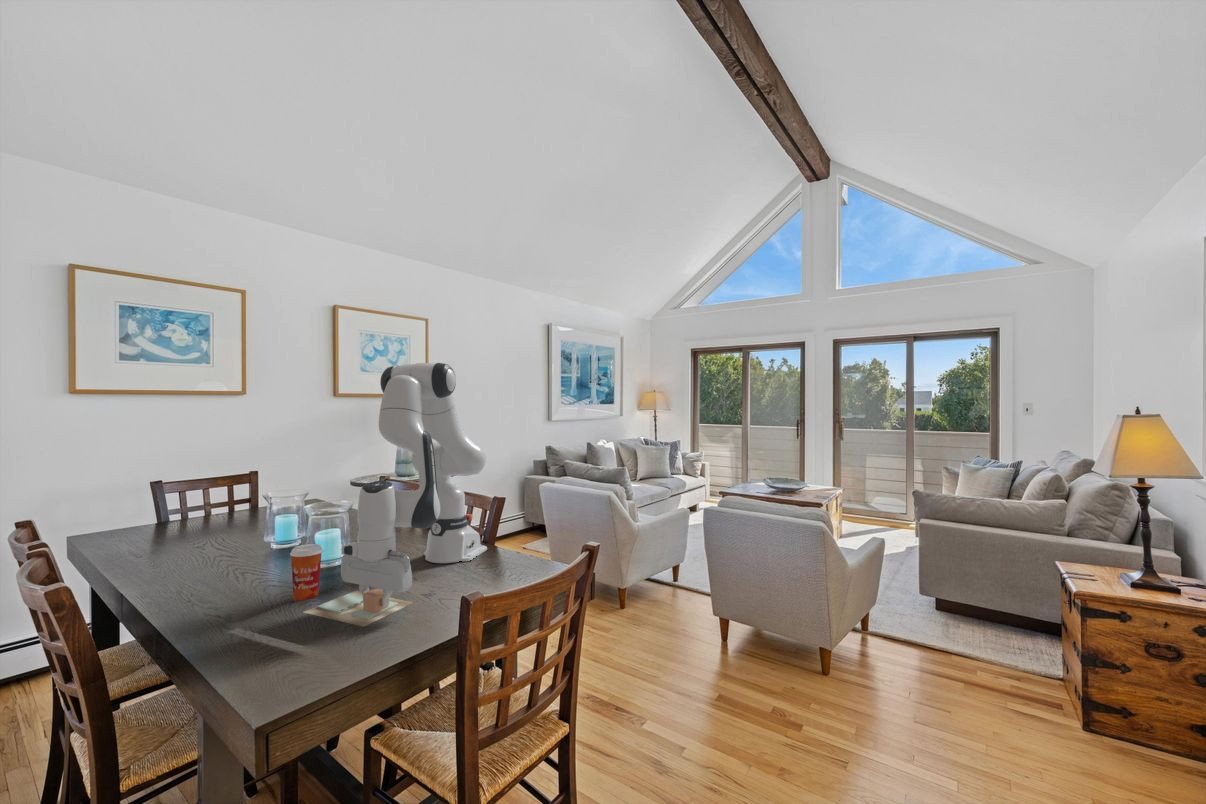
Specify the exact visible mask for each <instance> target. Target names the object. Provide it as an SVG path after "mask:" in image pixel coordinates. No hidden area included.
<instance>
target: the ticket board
mask: <svg viewBox="0 0 1206 804" xmlns="http://www.w3.org/2000/svg"><path fill="white" fill-rule="evenodd" d="M389 601H391V602H396V603H399V605H398V606H395V607H393V608H391V609H389V610H387V611H385V612H383V613H381V614H379V615H377V616H374V617H372V618H370V619H368V620H366V619H361V618H357V617H353V616H352V614H353V613H356V612H358V611H360V610H362V609H363V596H362V593H361V591H360V590H355V591H351V592H349V593H347V594H343V595H342V596H339V597H336V598H334V599H331V600H329V601H327V602H323V603H321V604H319V605H317V606H314V607H312V608H310V609H307V610H305V611H303V613H304V614H309V615H313V616H317V617H320V618H321V617H322V618H324V619H325V618H326V619H329V620H333V621H338V622H342V623H345V624H349V625H354V626H359V627H367V626H368V625H371V624H373V623H375V622H378V621H379V620H381V619H383V618H385V617H387V616H389V615H392V614H393V613H395V612H397V611H400V610H402V609H403V608H405V607H407V606H410V605H411V604H413V603H414V602H413V601H409V600H403V599H398V598H394V597H390V598H389Z"/></svg>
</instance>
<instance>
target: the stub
mask: <svg viewBox="0 0 1206 804" xmlns="http://www.w3.org/2000/svg"><path fill="white" fill-rule="evenodd" d="M383 596H384V593H383V589H379V588H374V589H371V590H370V591H369V592H367V593H364V599H363V609H362V610H360V611H358V612H356V613H353V614H352V616H353V617H357V618H361V619H366V620H368V619H370V618H372V617H374V616H377V615H379V614H381V613H383V612H385V611H387V610H389V609H391V608H393V607H395V606H398V605H399V603H396V602H391V601H389V605H388V606H386V607H383V606H380V605H379V603H380V602H379V599H381V598H383Z"/></svg>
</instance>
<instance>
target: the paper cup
mask: <svg viewBox="0 0 1206 804" xmlns="http://www.w3.org/2000/svg"><path fill="white" fill-rule="evenodd" d="M323 552H324V549H323V548H322V546H321V545H320V544H318V543H315V544H314V543H308V544H301V545H298V546H294V547H293V548H292V549H291V552H290V553H289V555H290V559H291V560H290V561H291V575H292V576H291V577H292V579H291V580H292V594H293V602H297V601H301V600H309V599H313V598H316V597H317V596H318V595H319V591H320V589H319V588H320V580H321V568H322V567H321V565H322V553H323Z"/></svg>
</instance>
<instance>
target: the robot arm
mask: <svg viewBox="0 0 1206 804" xmlns="http://www.w3.org/2000/svg"><path fill="white" fill-rule="evenodd" d="M379 383H380V389H381V392H382V394H383V395H382V399H381V403H380V407H379V408H380V409H379V416H378V431H379V433H380V434H381V436H382V437H383V439H385V440H386V441H387V442H389V443H390V444H392V445H394V446H396V447H399V448H401V449H404V450H406V451H409V452H411V453H412V454H411V465H412V466H413V469H414V470H415V471H416V472H418V485H419V487H418V488H417V489H411V490H409V489H406V490H405V489H404V490H402V489H401V490H399V489H395V487H394V484H393V483H392V482H390V481H387V480H376V481H372V482H368V483H366V484H364V485H362V486H361V488H360V492H359V494H358V495H359V497H358V503H357V504H358V505H357V513H356V514H357V523H358V533H357V537H356V541H354V542H350V543H347V544H344V545H342V546H341V551H340V552H341V554H342V557H341V560H340V561H341V562H340V577H341V579H342V581H343V582H346V583H350V584H356V585H359V586H358V589H359V591H360V592H361V593H362V596H363V599H364V593H367V592H369V591H371V590H370V587H371V588H374V589H381V590H383V593H384V596H383V598H381V599H379V602H380V603H379V605H380V606H383V607H386V606H388V605H389V598H391V596H392V594H393V592H394V593H399V594H400V593H404V592H407V591H408V590H410V589H411V588H412V585H413V574H412V567H411V566H412V565H411V561H410V558H409V557H408V555H406V552H403V551H397V550H396V548H397V546H396V543H397V541H396V540H397V539H396V538H397V533H396V532H397V531H396V528H413V529H423V530H427V529H429V528H430V529H429V531H428V534H427V542H426V548H425V549H426V550H425V551H424V553H423V555H424V557H425V558H424V559H425V561H426V562H429V563H435V564H450V563H451V564H452V563H458V562H459V561H462V562H469V561H470V560H471V561H472V560H474V559H475V558H477V557H478V556H480V555H482V554H483V553H484V552H486V551H487V550H488V547H487V546H486V545H484V544H481V536H480V533H479V532H478V531H476V530H475V529H474V528H473V527H471V526H470V525H469V522H468V521H472V520H473V514H471V513H470V514H469V513H467V514H465V512H466V507H465V506H466V494H465V492H464V490H463V489H462V488H461V487H460V486H458V485H456V483H454V481H453V479H452V476H453V477H454V476H458V477H469V476H474V475H478V474H480V473H481V472H482V470H484V467H485V466H486V462H487V461H486V458H487V457H486V454H485V453H486V452H485V451H484V449H483V448H482V447H481V446H480V445H478V444H477V443H475V442H474V441H472V439H470V437H468V435H467V434H466V433H465V432H464V430H463V429H462V427H461V424H460V421H459V418H458V415H457V414H458V413H457V409H456V405H455V401H454V397H453V393H454V391H455V389H456V385H457V384H456V383H457V379H456V373H455V370H454V369H453V368H452V367H451V365H450V364H448V363H447V364H446V363H444V362H436V363H435V362H434V363H433V362H416V363H411V364H409V363H408V364H401V365H397V364H396V365H392V366H389V367H387V368H385V370H384V371H382V374H381V375H380V382H379ZM433 440H435V442H434V441H433ZM476 556H477V557H476ZM473 558H474V559H473ZM459 563H460V562H459Z"/></svg>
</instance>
